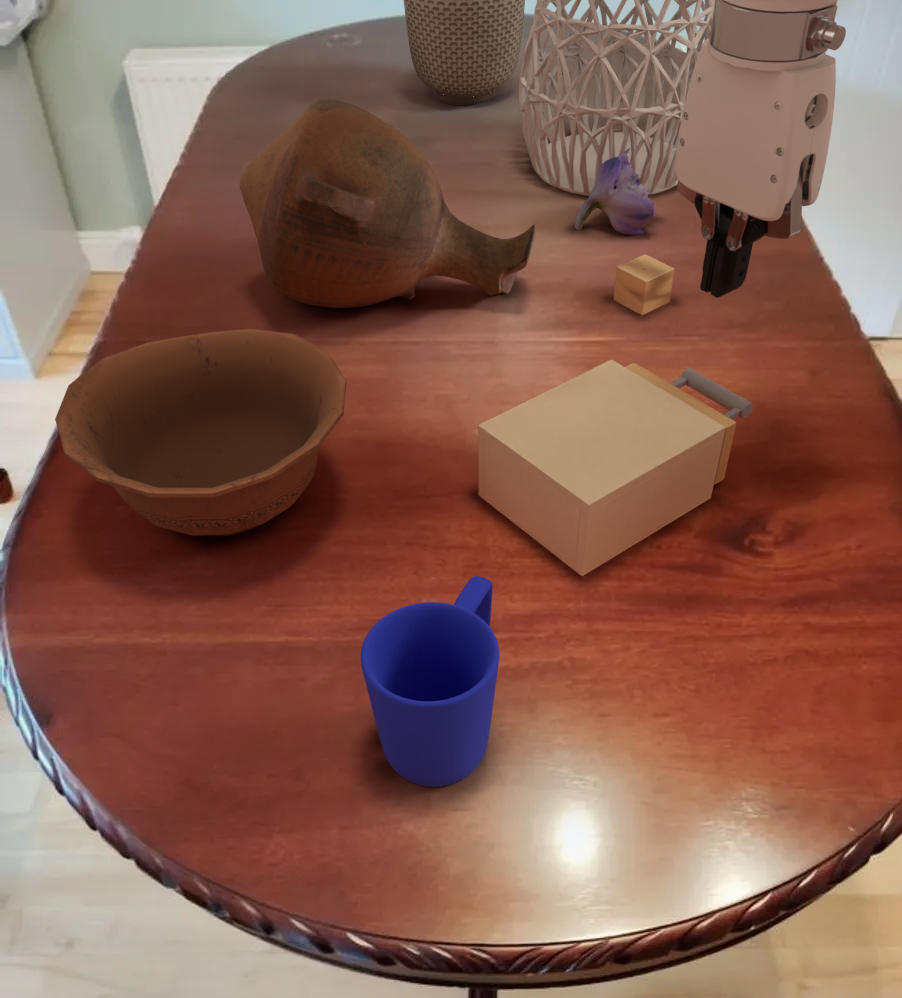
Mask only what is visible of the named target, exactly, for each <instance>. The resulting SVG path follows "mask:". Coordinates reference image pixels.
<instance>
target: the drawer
mask: <svg viewBox="0 0 902 998" xmlns="http://www.w3.org/2000/svg"><path fill="white" fill-rule="evenodd" d="M624 367H625V368H627V369H629V370H630V371H632V372H634V373H636V374H637V375H639V376H641V377H642V378H644V379H646V380H647V381H649V382H651V383H652V384H654V385H656V386H657V387H659V388H661V389H663V390H664V391H666V392H668V393H669V394H671V395H673V396H674V397H676V398H678V399H679V400H681V401H683V402H684V403H686V404H688V405H690V406H691V407H693V408H695V409H696V410H698V411H700V412H701V413H703V414H705V415H706V416H708V417H710V418H711V419H713V420H715V421H716V422H718V423H720V424H722V425H723V426H725V427H726V429H725V433H724V438H723V443H722V447H721V452H720V457H719V462H718V466H717V471H716V476H715V481H714V485H717V484H718V483H720V482H722V481H723V480H724V479H725V477H726V474H727V473H726V472H727V467H728V463H729V458H730V454H731V450H732V445H733V439H734V436H735V431H736V426H737V421H735V419H736V418H738V417H740V418H742V419H745V418H748V416H749V415H751V413H752V412H753V409H754V404H753V402H751V401H749V400H748V399H746V398H744V397H742V396H740V395H738V394H737V393H735V392H733V391H731V390H729V389H728V388H726V387H724V386H723V385H721V384H719V383H717V382H716V381H713V380H712V379H710V378H708V377H707V376H705V375H703V374H701V373H699V372H697V371H696V370H694V369H692V368H690V367H688V368H686V369H684V371H682V373H681V375H680V377H678V378H677V379H675V380H673V381H671V382H668V381H667V380H665V379H663V378H662V377H660V376H658V375H656V374H655V373H653V372H651V371H650V370H647V368H644V367H643V366H641V365H640V364H638V363H636V362H632V363H630V364H628V365H625V366H624ZM685 386H687V387H688V388H690V389H692V390H694V391H695V392H697V393H699V394H700V395H702V396H704V397H705V398H707V399H709V400H711V401H713V402H714V403H716V404H718V405H719V406H721V407H723V408H724V409H727V410H728V411H726V412H724V413H722V412H720V411H718V410H716V409H715V408H713V407H712V406H709V405H708V404H706V403H704V402H703V401H701V400H699V399H697V398H696V397H694V396H693V395H691V394H688V393H687V392H686V391H683V390H682V389H681V388H683V387H685Z"/></svg>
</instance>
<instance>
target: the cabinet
mask: <svg viewBox="0 0 902 998" xmlns="http://www.w3.org/2000/svg"><path fill="white" fill-rule="evenodd" d="M625 367H626V366H624V365H622V364H621V363H618V362H617V361H615V360H613V359H609V360H607V361H606V362H603V363H600V364H598V365H597V366H595V367H593V368H590V369H589V370H586V371H585V372H582V373H580V374H579V375H576V376H575V377H573V378H570V379H568V380H567V381H563V382H562V383H560V384H558V385H557V386H554V387H552V388H550V389H548V390H546V391H544V392H542V393H540V394H538V395H536V396H533V397H532V398H529V399H528V400H526V401H524V402H522V403H520V404H518V405H516V406H513V407H511V408H510V409H507V410H505V411H504V412H501V413H499V414H498V415H497V414H496V415H495V416H493V417H491V418H489V419H487V420H485V421H483V422H481V423H479V424H478V425H477V433H478V434H477V435H478V437H477V438H478V439H477V440H478V441H477V442H478V443H477V445H478V447H477V449H478V450H477V451H478V454H477V456H478V457H477V458H478V492H477V493H478V497H480V498H481V499H482V500H484V501H485V502H486V503H488V504H489V505H490V506H491V507H493V508H494V509H495V510H496V511H498V512H499V513H500V514H502V515H503V516H504V517H505V518H507V519H508V520H509V521H510V522H512V523H513V524H515V526H517V527H518V528H520V529H521V530H522V531H523V532H525V533H526V534H527V535H529V537H531V538H532V539H533V540H535V542H537V543H539V544H540V545H541V546H542V547H544V548H545V550H547V551H549V552H550V553H552V555H554V556H555V557H557V558H558V559H559V560H561V561H562V562H563V563H564V564H566V565H567V566H568V567H569V568H570V569H572V570H573V571H574V572H576V574H578V575H579V576H581V577H583V576H585V575H587V574H588V573H591V571H593V570H595V569H597V568H598V567H600V566H602V565H604V564H605V563H607V562H608V561H610V560H612V559H613V558H615V557H617V556H618V555H620V554H621V553H623V552H625V551H626V550H628V549H629V548H631V547H633V546H634V545H636V544H638V543H640V542H641V541H643V540H644V539H646V538H648V537H650V536H651V535H653V534H654V533H656V532H658V531H660V530H661V529H662V528H664V527H666V526H667V525H669V524H670V523H671V524H672V522H674V521H676V520H677V519H678V518H681V517H682V516H684V515H686V514H688V513H689V512H691V511H692V510H693V509H695V508H697V507H698V506H700V505H702V504H703V503H705V502H707V501H709V500H710V499H712V494H713V489H714V485H715V484H714V481H715V476H716V471H717V466H718V462H719V457H720V452H721V447H722V443H723V438H724V433H725V429H726V427H725V426H723V425H722V424H720V423H718V422H716V421H715V420H713V419H711V418H710V417H708V416H706V415H705V414H703V413H701V412H700V411H698V410H696V409H695V408H693V407H691V406H690V405H688V404H686V403H684V402H683V401H681V400H679V399H678V398H676V397H674V396H673V395H671V394H669V393H668V392H666V391H664V390H663V389H661V388H659V387H657V386H656V385H654V384H652V383H651V382H649V381H647V380H646V379H644V378H642V377H641V376H639V375H637V374H636V373H634V372H632V371H630V370H629V369H627V368H625Z"/></svg>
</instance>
